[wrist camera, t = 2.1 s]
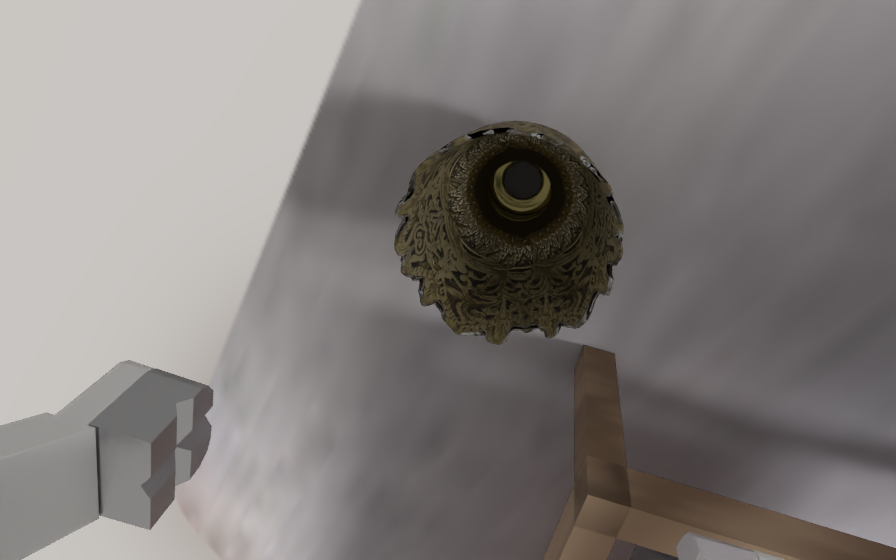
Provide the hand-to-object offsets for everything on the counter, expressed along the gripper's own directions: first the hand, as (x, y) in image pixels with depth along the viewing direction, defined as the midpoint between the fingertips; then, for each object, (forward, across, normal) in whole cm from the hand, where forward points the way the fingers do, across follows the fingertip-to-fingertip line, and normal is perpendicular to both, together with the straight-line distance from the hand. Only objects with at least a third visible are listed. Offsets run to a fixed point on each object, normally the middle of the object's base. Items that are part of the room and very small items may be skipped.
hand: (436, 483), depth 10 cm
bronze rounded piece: (+19, 0, 0) cm, 19 cm away
